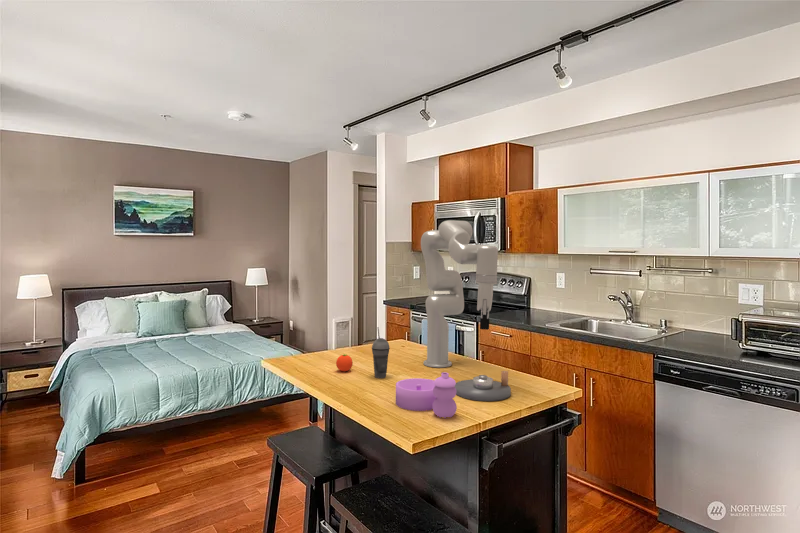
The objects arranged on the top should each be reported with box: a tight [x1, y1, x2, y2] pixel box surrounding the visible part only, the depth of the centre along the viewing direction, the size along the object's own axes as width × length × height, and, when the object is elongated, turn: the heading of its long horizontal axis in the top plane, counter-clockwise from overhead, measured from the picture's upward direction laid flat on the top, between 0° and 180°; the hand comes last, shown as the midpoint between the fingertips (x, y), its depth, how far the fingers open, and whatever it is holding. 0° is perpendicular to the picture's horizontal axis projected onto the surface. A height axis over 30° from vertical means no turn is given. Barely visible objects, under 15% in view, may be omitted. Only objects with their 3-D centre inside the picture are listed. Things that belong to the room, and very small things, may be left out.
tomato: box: [335, 353, 354, 373], centre depth 199 cm, size 8×7×7 cm
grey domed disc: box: [454, 370, 512, 402], centre depth 171 cm, size 20×20×7 cm
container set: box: [395, 371, 457, 419], centre depth 154 cm, size 25×15×13 cm, turn 34°
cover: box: [472, 374, 494, 390], centre depth 170 cm, size 7×7×4 cm
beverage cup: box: [371, 326, 391, 379], centre depth 190 cm, size 7×7×20 cm
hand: (484, 328), depth 175 cm, fingers closed
